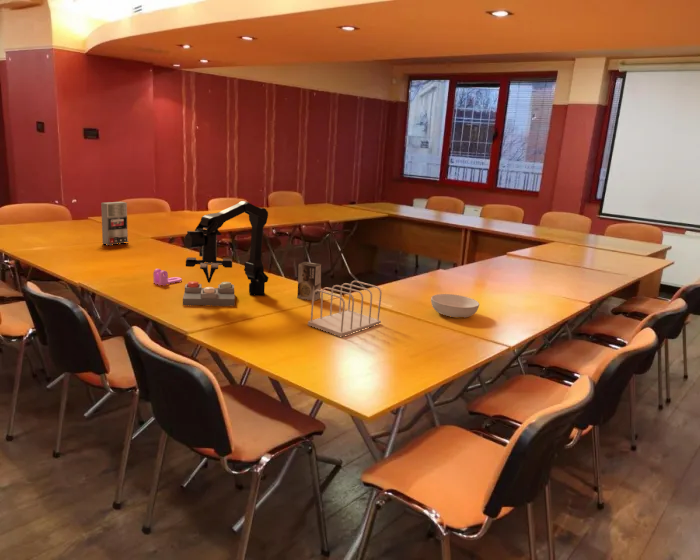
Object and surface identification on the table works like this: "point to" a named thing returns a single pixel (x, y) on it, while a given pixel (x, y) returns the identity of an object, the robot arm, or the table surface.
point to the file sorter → (344, 313)
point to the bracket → (164, 277)
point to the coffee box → (309, 280)
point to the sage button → (225, 285)
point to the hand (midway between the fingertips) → (209, 282)
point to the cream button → (209, 290)
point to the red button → (193, 284)
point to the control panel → (209, 296)
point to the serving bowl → (454, 305)
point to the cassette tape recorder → (114, 222)
